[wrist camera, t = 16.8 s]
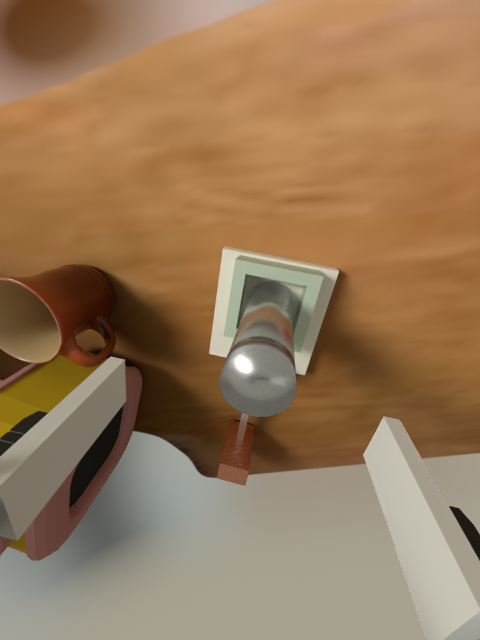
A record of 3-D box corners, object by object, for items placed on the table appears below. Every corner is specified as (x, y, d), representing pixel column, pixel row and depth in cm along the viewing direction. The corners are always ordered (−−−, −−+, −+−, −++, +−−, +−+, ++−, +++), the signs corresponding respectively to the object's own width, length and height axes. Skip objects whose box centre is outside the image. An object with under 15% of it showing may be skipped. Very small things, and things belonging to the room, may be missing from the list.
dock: (336, 267, 27) (345, 278, 23) (303, 368, 33) (306, 390, 29) (226, 246, 28) (216, 252, 24) (212, 347, 34) (202, 366, 30)
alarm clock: (134, 441, 44) (33, 599, 26) (73, 418, 44) (-68, 561, 26) (152, 354, 36) (25, 497, 18) (77, 326, 36) (-120, 442, 18)
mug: (50, 291, 34) (-38, 322, 25) (77, 240, 31) (-13, 255, 21) (124, 349, 36) (68, 398, 27) (157, 307, 33) (107, 347, 23)
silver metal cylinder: (247, 314, 29) (214, 407, 16) (254, 276, 28) (224, 345, 14) (285, 322, 29) (286, 424, 16) (295, 284, 27) (306, 363, 14)
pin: (274, 349, 32) (272, 385, 26) (251, 439, 38) (245, 485, 32) (245, 343, 32) (236, 376, 26) (227, 433, 39) (216, 478, 32)
